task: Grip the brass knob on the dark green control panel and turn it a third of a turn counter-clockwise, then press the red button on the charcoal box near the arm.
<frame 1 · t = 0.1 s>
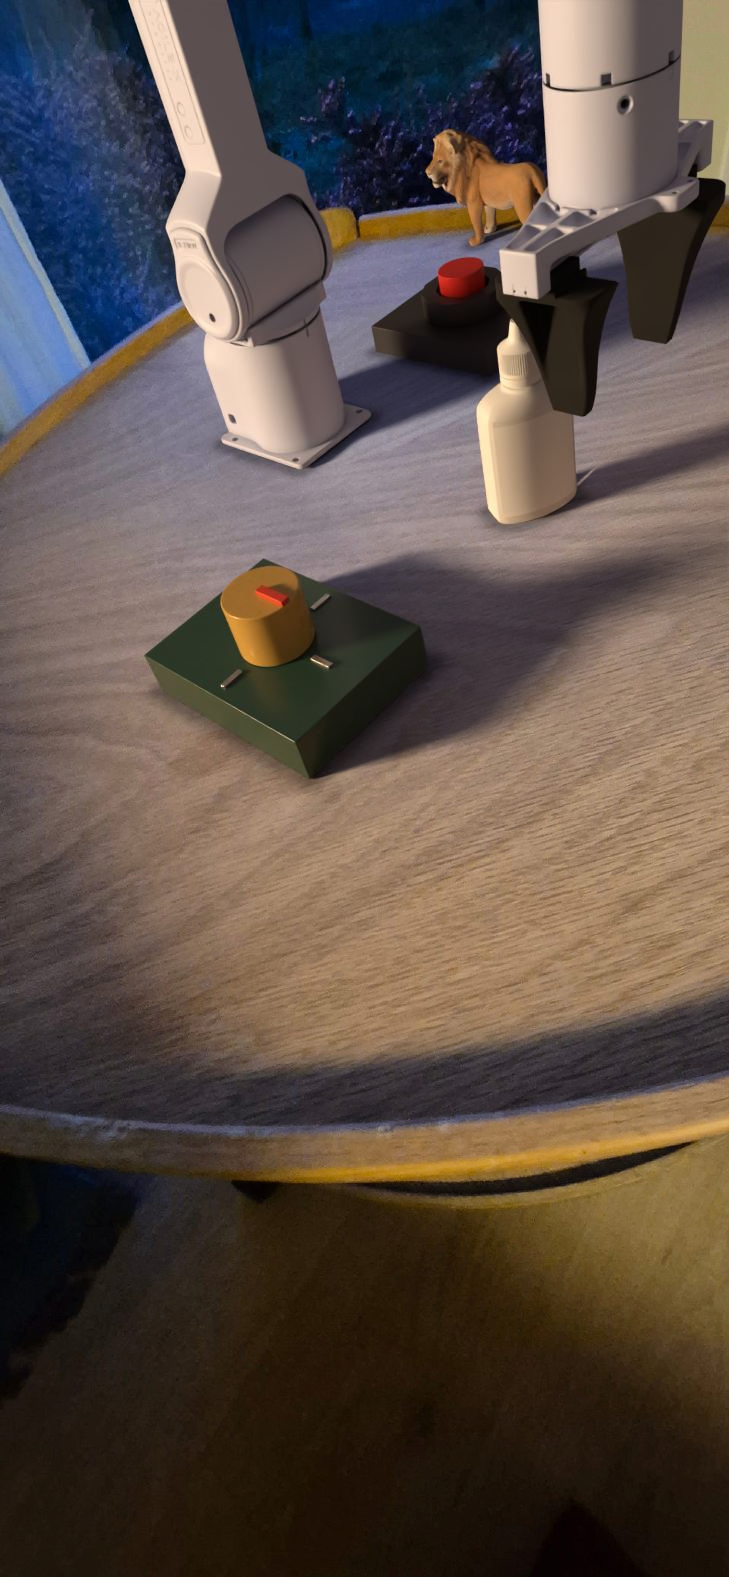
hand: (613, 373, 50), 10 cm above the table, tool pointing down, fingers open, 7 cm apart
button box: (468, 334, 78), on the table
dial knob: (267, 614, 52), point 5 cm above the table, hinge at 0.0°
red button: (461, 279, 74), point 4 cm above the table, slide at 0.1 cm
lion figurine: (501, 246, 88), on the table
control panel: (291, 678, 55), on the table
eye dropper bottle: (532, 507, 61), on the table
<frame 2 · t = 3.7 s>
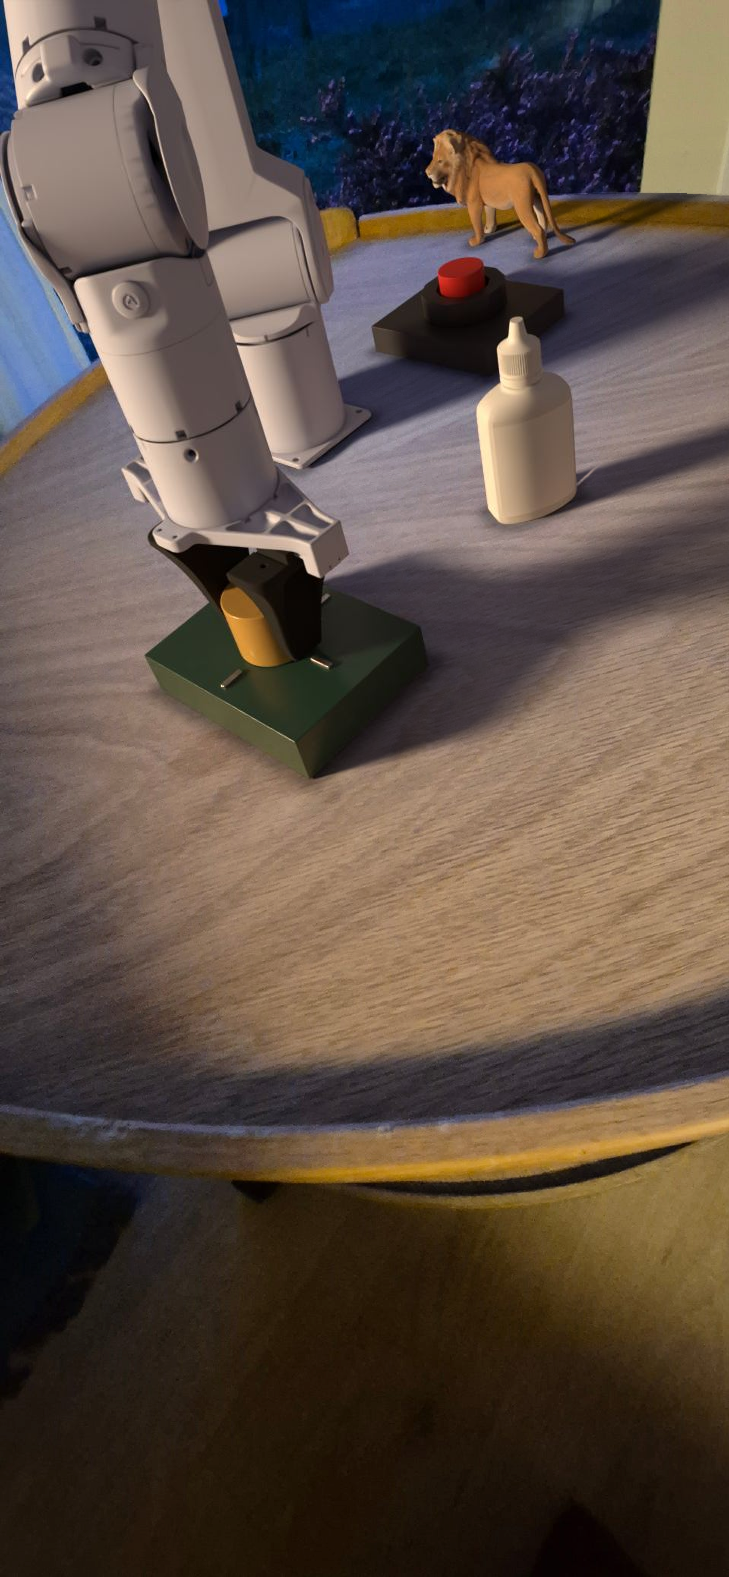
hand: (274, 634, 53), 4 cm above the table, tool pointing down, fingers closed on dial knob, 4 cm apart
dial knob: (267, 614, 52), point 5 cm above the table, hinge at -0.2°, touching gripper
everything else where it was.
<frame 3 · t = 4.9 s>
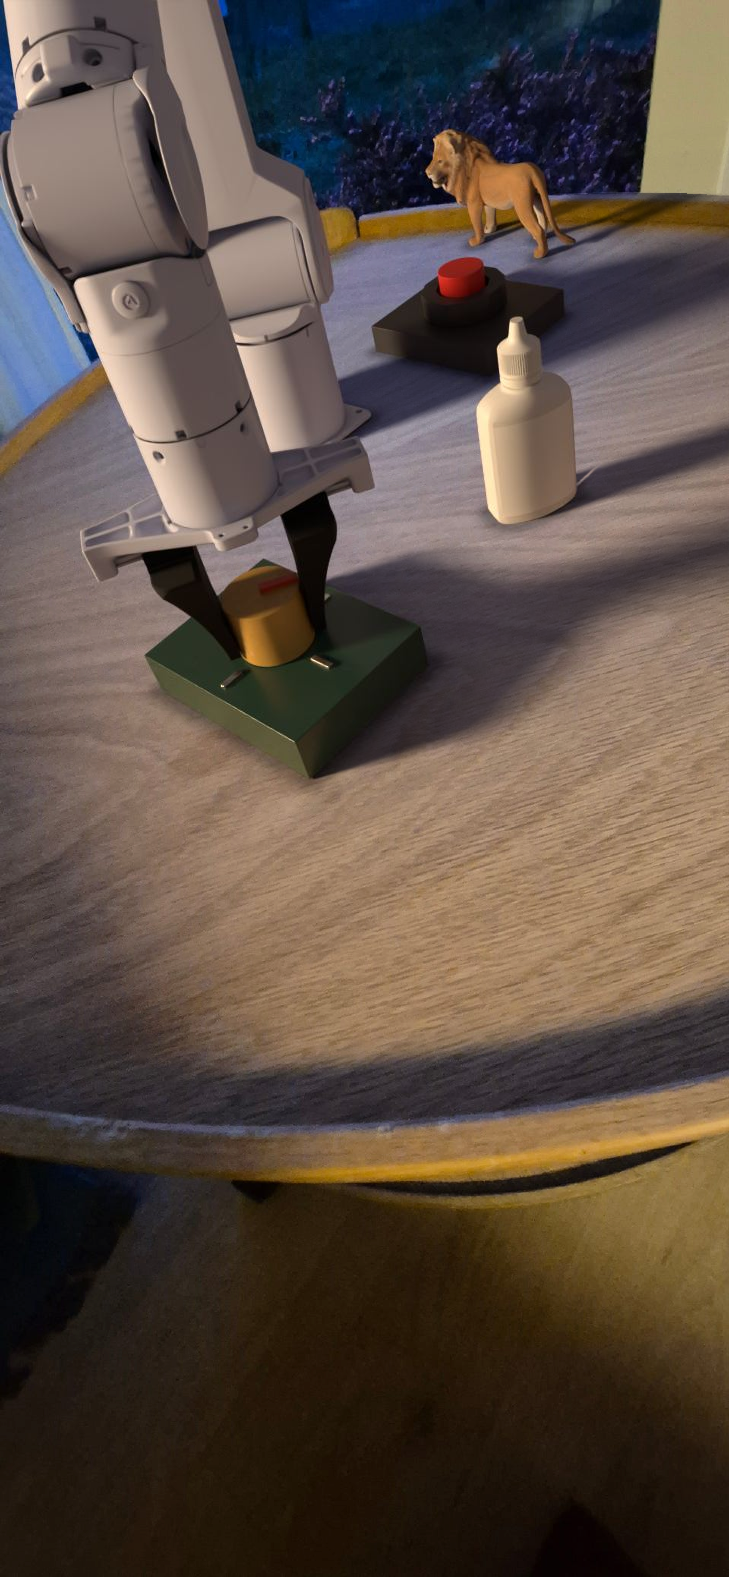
hand: (274, 634, 53), 4 cm above the table, tool pointing down, fingers closed on dial knob, 4 cm apart
dial knob: (267, 614, 52), point 5 cm above the table, hinge at 57.0°, touching gripper
everything else where it was.
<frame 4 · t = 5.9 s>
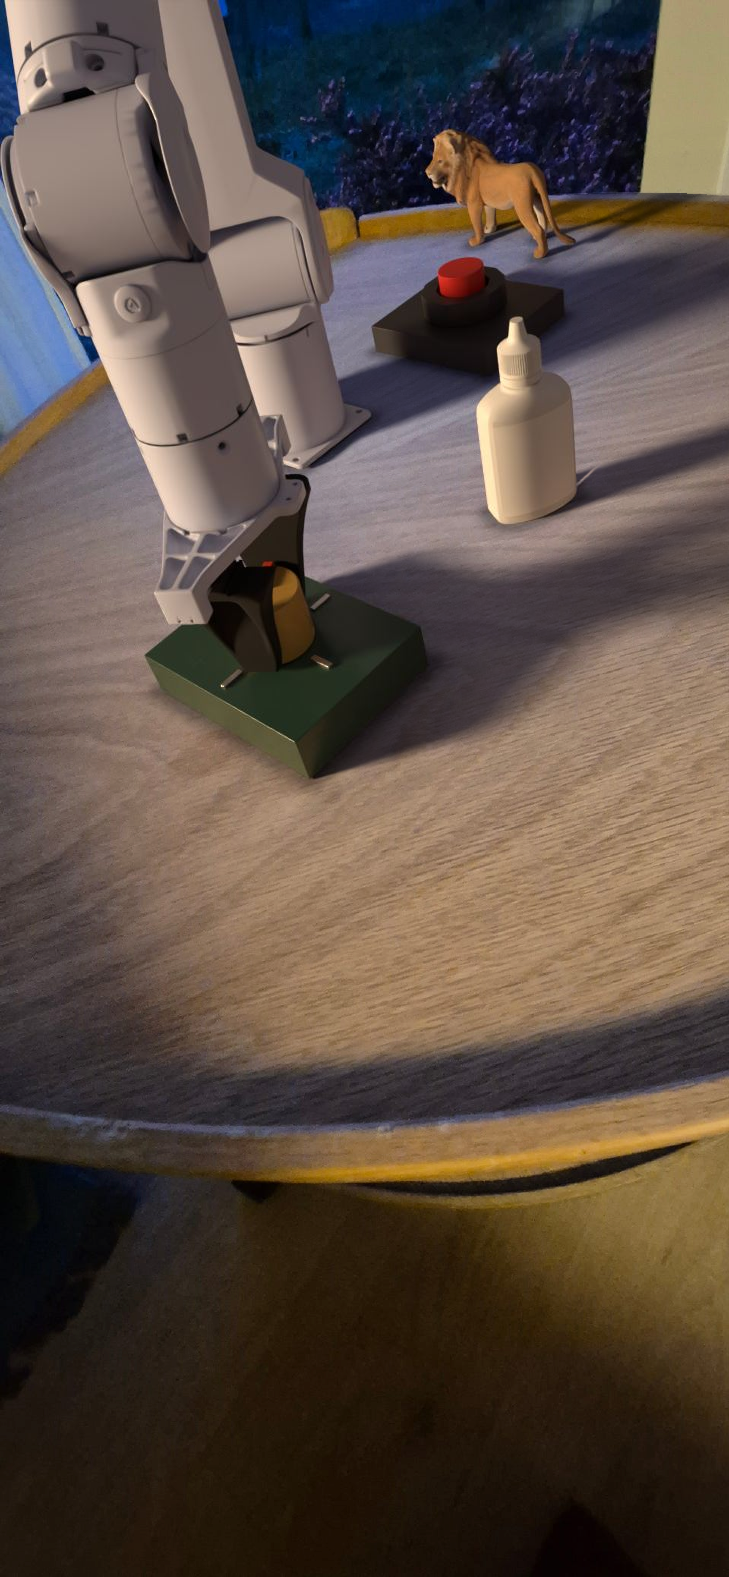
hand: (275, 637, 53), 3 cm above the table, tool pointing down, fingers closed on dial knob, 4 cm apart
dial knob: (267, 614, 52), point 5 cm above the table, hinge at 120.0°, touching gripper
everything else where it was.
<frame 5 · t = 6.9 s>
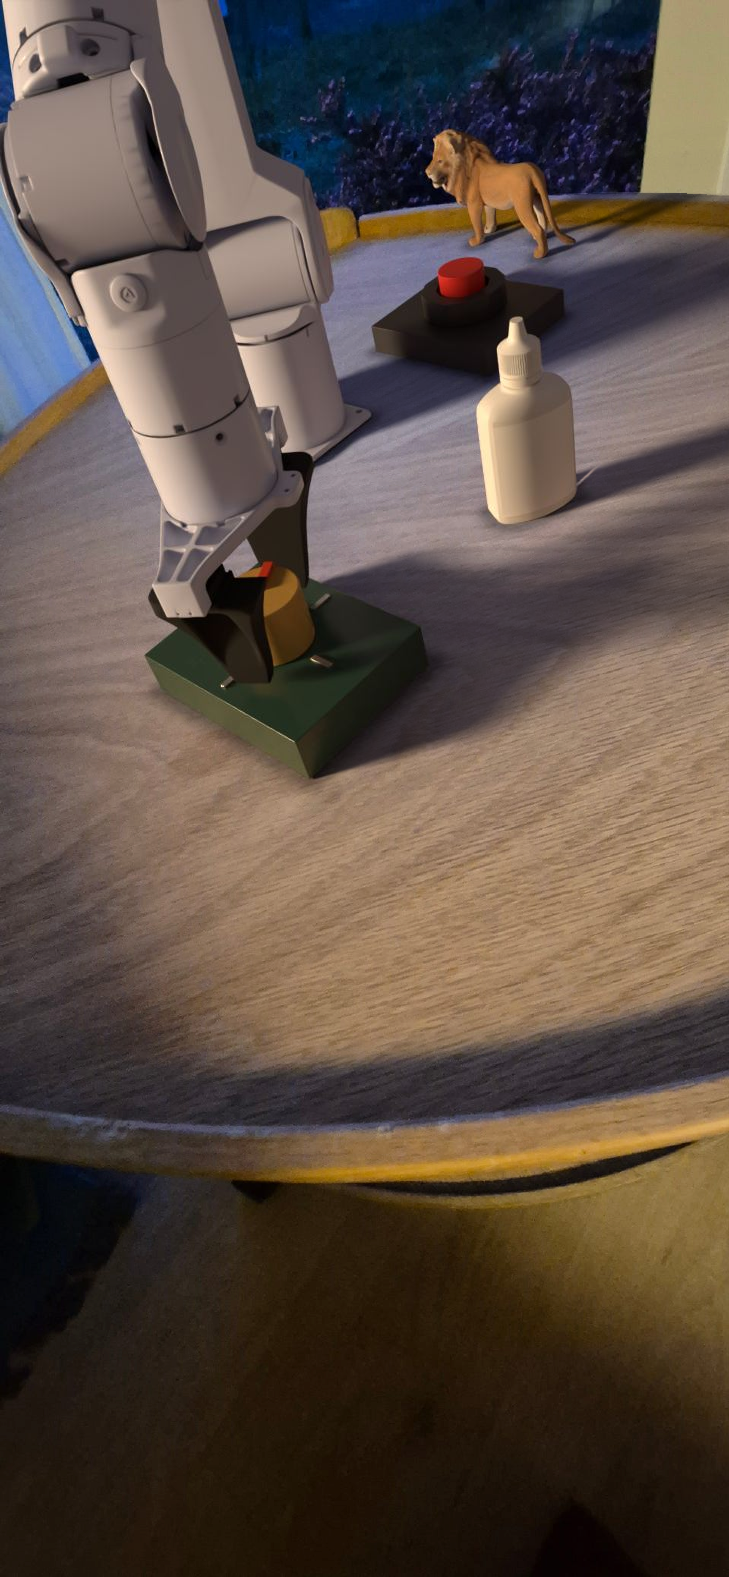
hand: (273, 630, 53), 4 cm above the table, tool pointing down, fingers open, 7 cm apart
dial knob: (267, 614, 52), point 5 cm above the table, hinge at 120.1°
everything else where it was.
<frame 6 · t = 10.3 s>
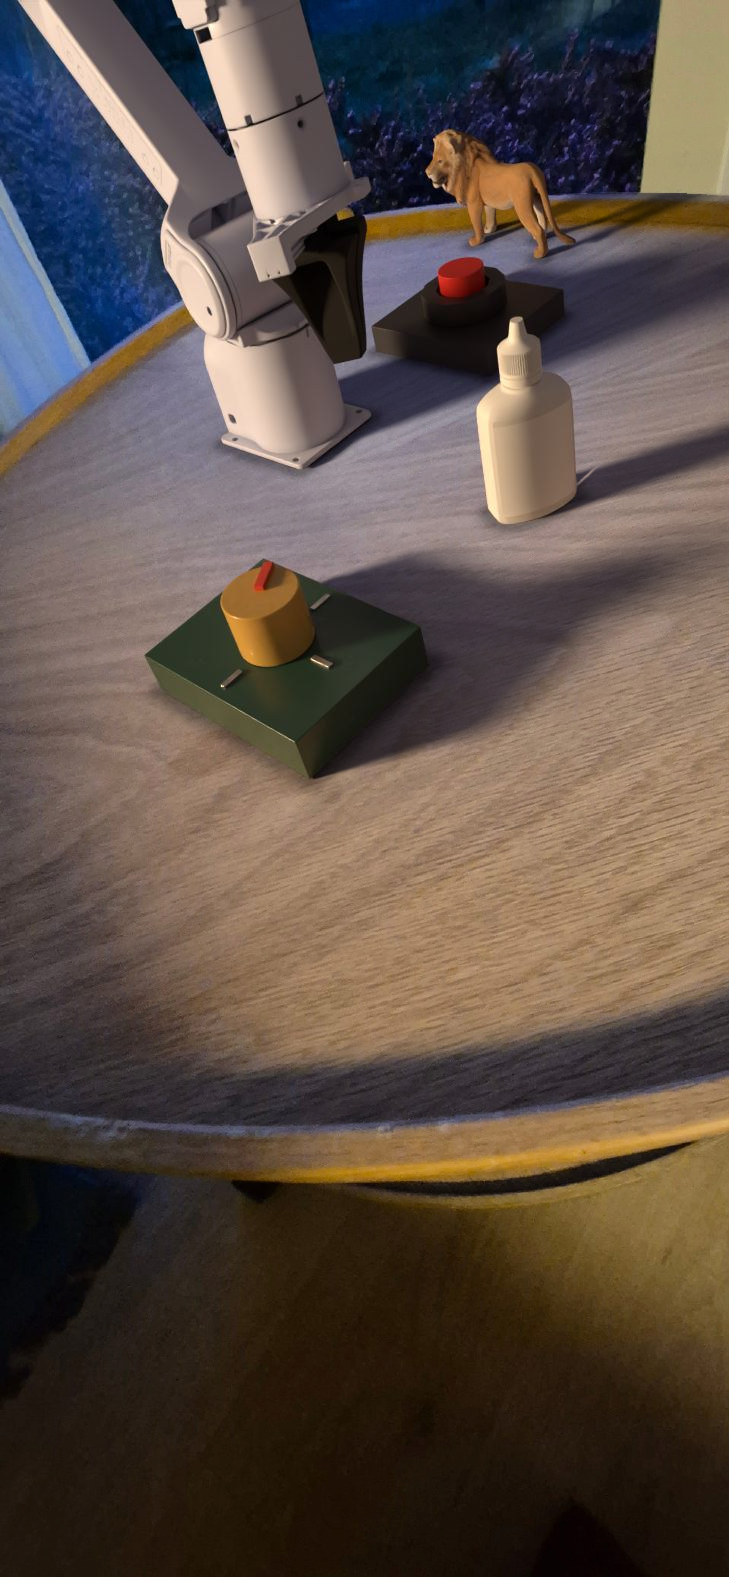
hand: (350, 357, 61), 9 cm above the table, tool pointing down, fingers closed
nothing on the table moved.
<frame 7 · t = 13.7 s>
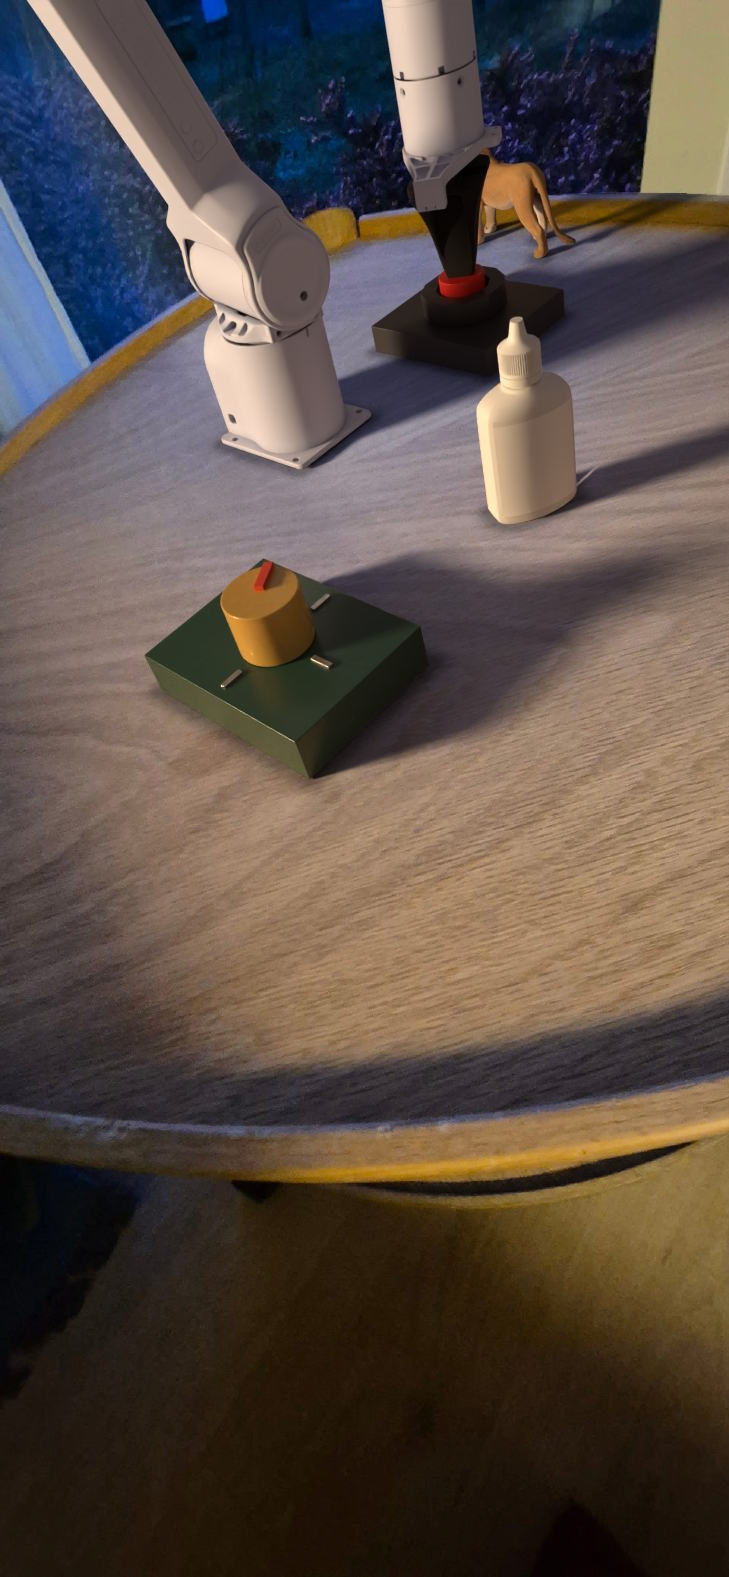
hand: (461, 273, 74), 5 cm above the table, tool pointing down, fingers closed, pressing on red button
red button: (462, 284, 75), point 4 cm above the table, slide at -0.4 cm, touching gripper
everything else where it was.
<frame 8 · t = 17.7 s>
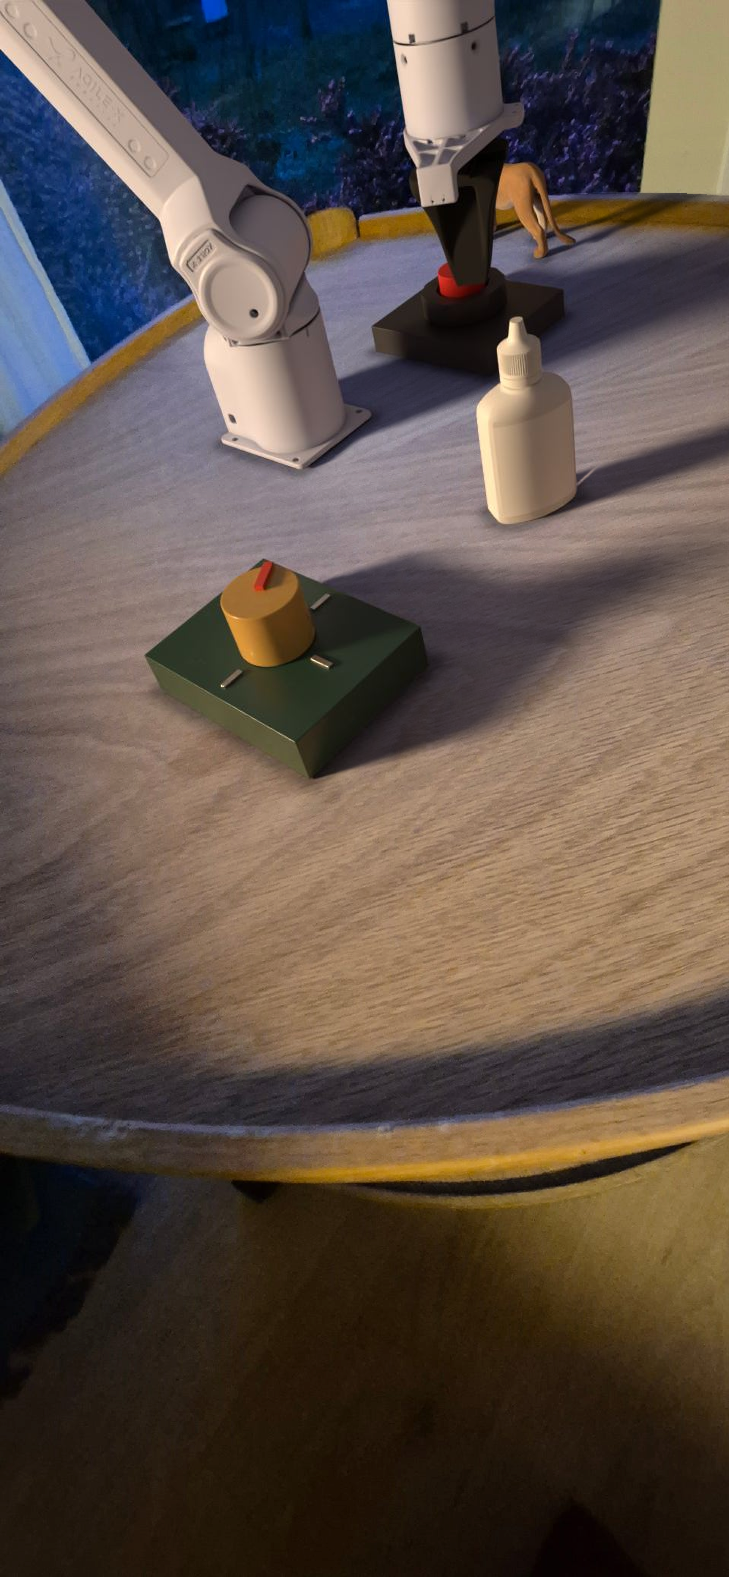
hand: (473, 280, 62), 9 cm above the table, tool pointing down, fingers closed
red button: (461, 279, 74), point 4 cm above the table, slide at 0.1 cm
everything else where it was.
at the end: dial knob at +120° (first picture: +0°); red button pushed in 1.2 cm at the most during the clip, back to where it started at the end; red button slide at 0.1 cm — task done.
